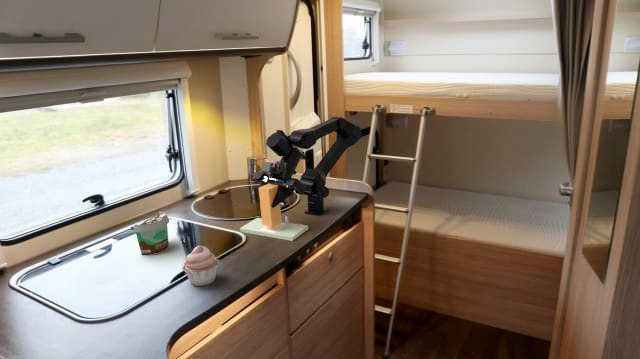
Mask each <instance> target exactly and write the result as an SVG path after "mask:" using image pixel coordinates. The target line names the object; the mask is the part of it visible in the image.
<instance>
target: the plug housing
mask: <svg viewBox="0 0 640 359" xmlns="http://www.w3.org/2000/svg"><path fill="white" fill-rule="evenodd" d="M277 191H278V185H274V184H273V185H272V184H267V185H264V186H261V185H260V186H259V187H258V196H259V206H260V214H261V217H260V218H262V225H265V226H268V227H274V226H276V225H278V224H281V223H282V222H283V221H282V222H281V217H282V212H281V203H279V204H278V205H277V206H276V207H274V208H272V207H271V206H272V203H273V200H274V198H275V196H276V194H277Z"/></svg>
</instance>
